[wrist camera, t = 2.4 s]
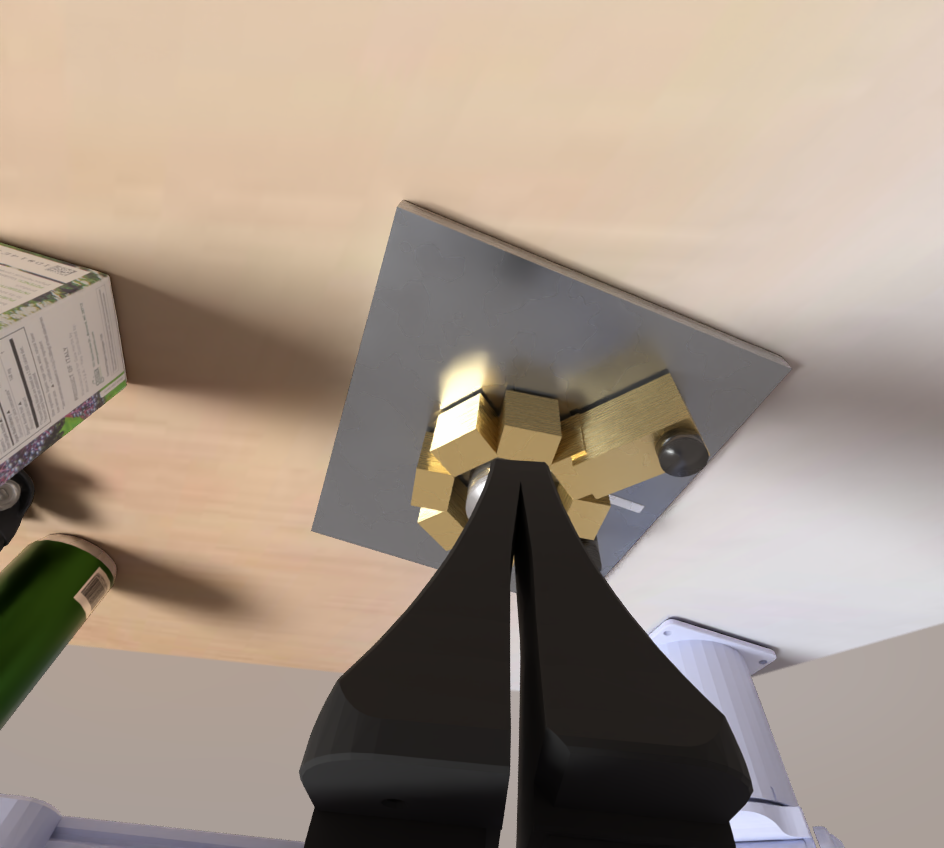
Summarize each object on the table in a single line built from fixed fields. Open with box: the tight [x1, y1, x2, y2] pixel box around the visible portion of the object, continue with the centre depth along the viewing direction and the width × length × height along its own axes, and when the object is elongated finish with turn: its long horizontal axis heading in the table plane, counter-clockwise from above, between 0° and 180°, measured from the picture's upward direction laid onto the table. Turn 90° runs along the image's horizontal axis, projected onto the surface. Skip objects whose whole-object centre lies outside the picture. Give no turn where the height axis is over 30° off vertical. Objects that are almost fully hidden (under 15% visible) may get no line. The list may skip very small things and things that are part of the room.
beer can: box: [0, 534, 116, 730], centre depth 28 cm, size 5×5×12 cm
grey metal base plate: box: [311, 200, 792, 593], centre depth 22 cm, size 18×16×4 cm
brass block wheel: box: [411, 373, 710, 567], centre depth 21 cm, size 12×8×4 cm
